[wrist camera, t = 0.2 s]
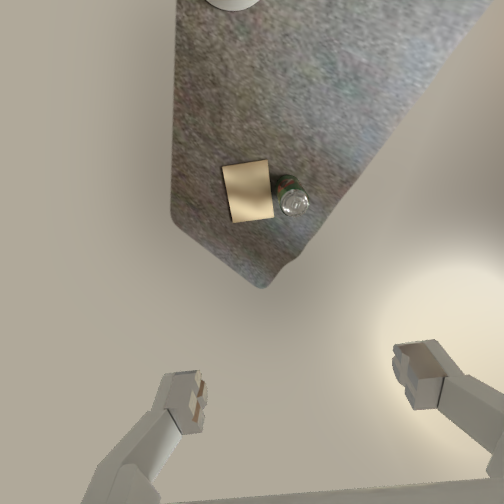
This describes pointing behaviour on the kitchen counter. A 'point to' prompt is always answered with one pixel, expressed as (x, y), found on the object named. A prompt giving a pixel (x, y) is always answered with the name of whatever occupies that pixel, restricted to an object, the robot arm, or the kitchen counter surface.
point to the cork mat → (249, 190)
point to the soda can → (291, 196)
